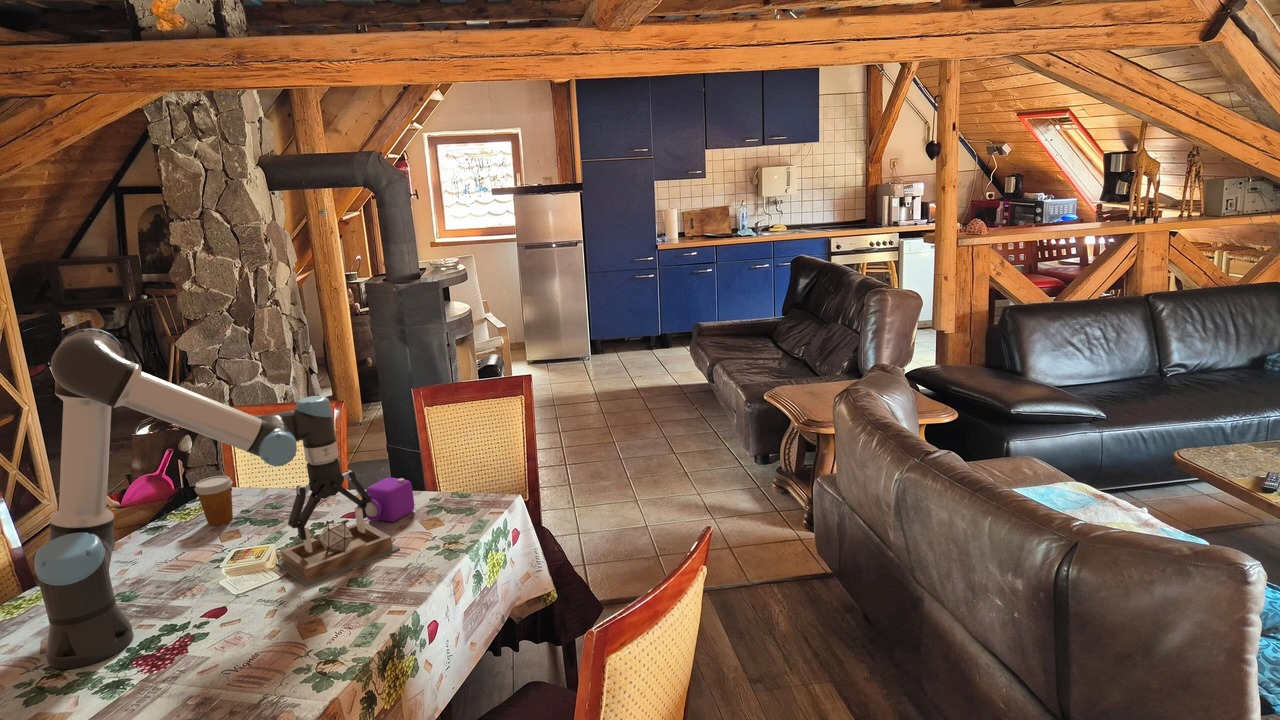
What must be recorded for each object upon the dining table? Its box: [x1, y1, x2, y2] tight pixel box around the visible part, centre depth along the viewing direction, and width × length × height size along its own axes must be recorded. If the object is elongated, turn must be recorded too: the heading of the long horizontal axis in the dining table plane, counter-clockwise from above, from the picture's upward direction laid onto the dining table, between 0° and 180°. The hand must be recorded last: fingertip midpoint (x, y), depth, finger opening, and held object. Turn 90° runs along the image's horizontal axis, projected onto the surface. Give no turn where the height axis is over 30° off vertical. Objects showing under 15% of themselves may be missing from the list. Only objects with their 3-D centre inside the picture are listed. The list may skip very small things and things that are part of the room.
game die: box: [314, 519, 357, 555], centre depth 209 cm, size 9×8×10 cm
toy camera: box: [365, 477, 416, 523], centre depth 230 cm, size 11×14×10 cm
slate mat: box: [277, 543, 401, 587], centre depth 209 cm, size 24×18×1 cm
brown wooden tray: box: [280, 521, 393, 581], centre depth 209 cm, size 22×15×4 cm
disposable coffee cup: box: [194, 475, 234, 527], centre depth 235 cm, size 10×10×12 cm
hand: (335, 541), depth 208 cm, fingers open, 13 cm apart
